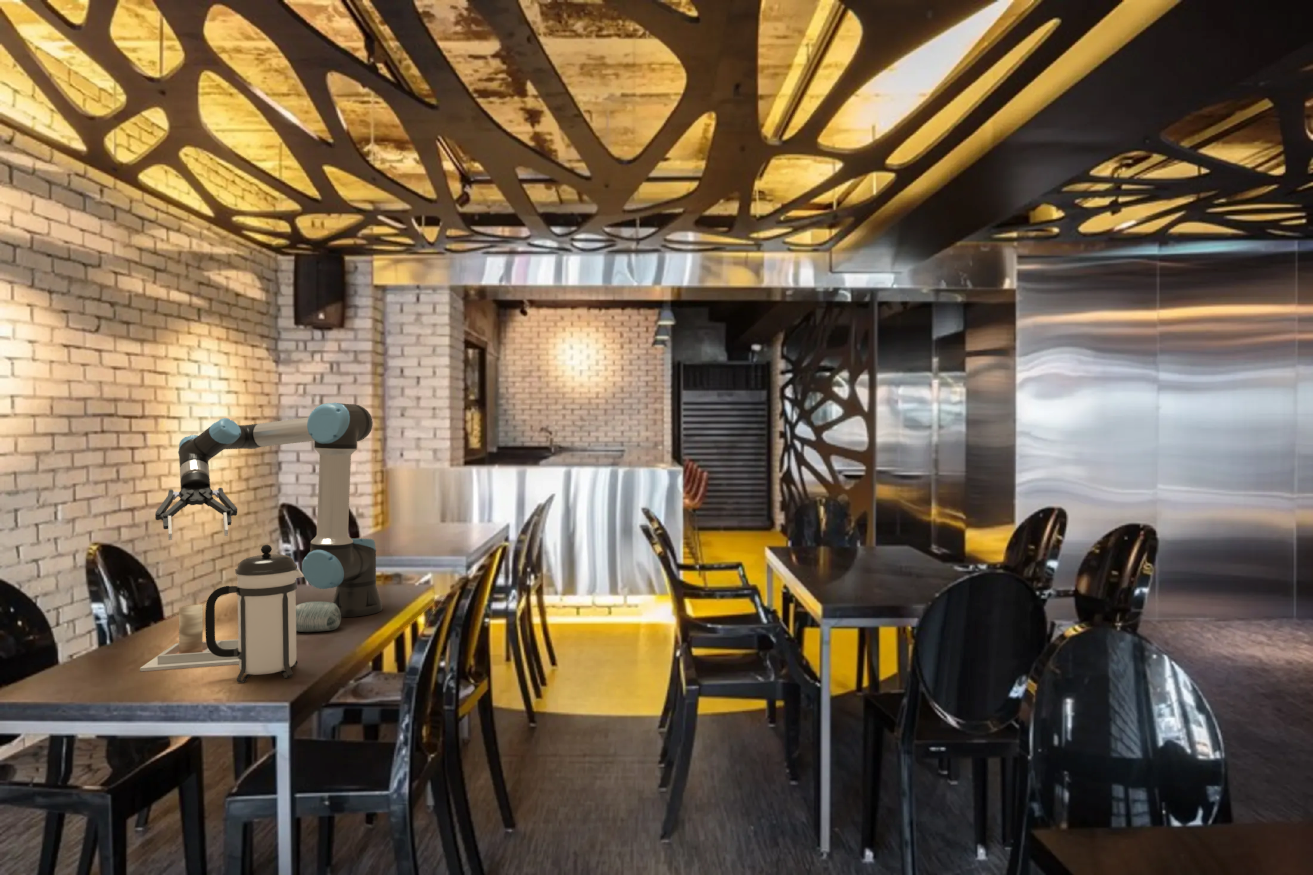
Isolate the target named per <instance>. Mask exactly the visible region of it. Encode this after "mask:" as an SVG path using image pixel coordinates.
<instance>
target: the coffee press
mask: <svg viewBox="0 0 1313 875" xmlns="http://www.w3.org/2000/svg"><path fill="white" fill-rule="evenodd" d="M260 551H261V553H262V554H260V555H259V554H258V555H253V556H249V557H246V558H244V559H242V560H241V561H240V562H239V563H238V565H237V567H236V569H234V570H235V571H234V573H235V575H236V579H237V580H236V581H237V584H236V585H225V586H221V587H218V588H216V589H215V590H213V591H212V592H211V594H210V595H209V596H208V598H207V600H206V604H205V609H204V610H205V611H204V612H205V613H204V614H205V615H204V617H205V618H204V619H205V620H204V621H205V622H204V624H205V641H206V643H207V647H208V649H209V650H210V652H211V653H213V654H214V655H216V656H220V657H237V658H238V659H239V664H238V668H239V670H240V671H239V674H238V675H237V677H236V682H238V683H241V684H245V683H246V682H247V680H248V679H249V678H250V677H252V676H255V675H269V674H275V673H280V675H282V677H283V679H285V680H287V679H289V678H292V677H293V671H292V669H291V668H293V667H294V668H296V667H297V665H298V662H299V661H298V660H297V631H296V605H297V601H296V600H297V598H296V596H297V593H296V591H297V580H296V579H298V578H305V577H304V575H303V572H302V570H300V568H298V564H297V563H295V560H294V559H293V557H291V556H289V555H287V554H275V553H274V554H271V552H272V551H273V548H272V546H271V545H269V544H264V545H263V546H261V548H260ZM228 594H235V595H237V639H238V648H236V649H222V648H220V647H219V646H218V645H217V644H216V641H217V640H216V613H215V612H216V611H215V610H216V609H215V607H216V602H217V600H218V599H219V598H220V597H221V596H224V595H228Z"/></svg>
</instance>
